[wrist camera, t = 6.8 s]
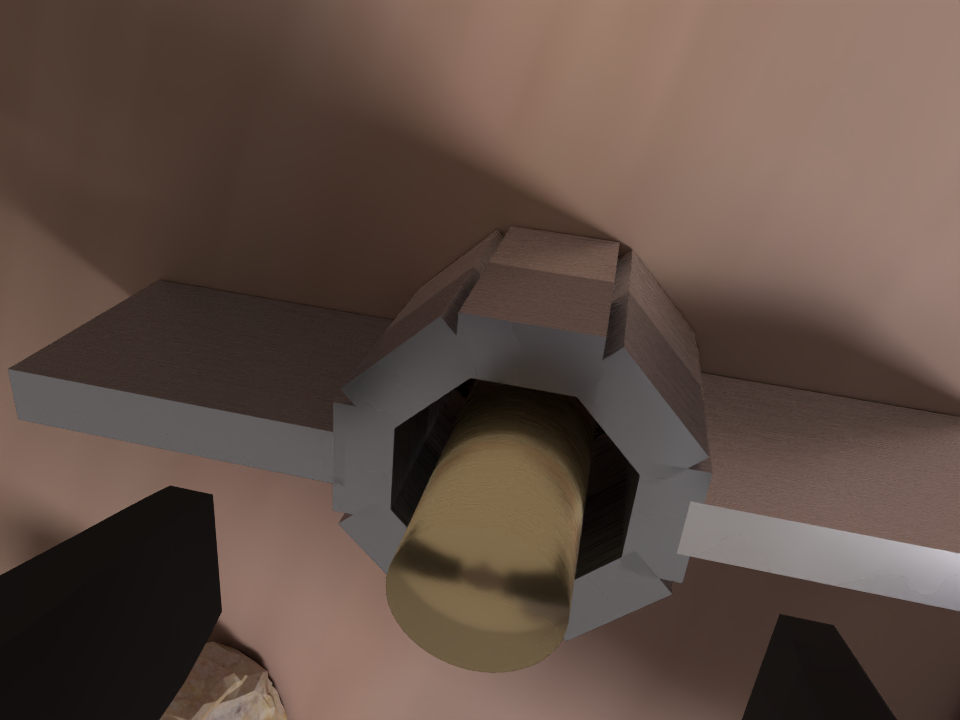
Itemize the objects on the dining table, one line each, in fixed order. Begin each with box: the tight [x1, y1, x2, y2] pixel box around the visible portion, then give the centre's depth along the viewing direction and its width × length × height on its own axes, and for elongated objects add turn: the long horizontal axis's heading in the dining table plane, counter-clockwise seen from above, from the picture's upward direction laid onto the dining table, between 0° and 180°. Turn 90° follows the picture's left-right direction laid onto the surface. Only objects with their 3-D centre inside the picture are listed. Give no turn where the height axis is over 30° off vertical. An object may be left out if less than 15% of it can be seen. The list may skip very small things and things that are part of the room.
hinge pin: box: [386, 379, 597, 673], centre depth 13 cm, size 2×2×7 cm
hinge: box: [8, 226, 960, 641], centre depth 14 cm, size 17×6×4 cm, turn 85°
